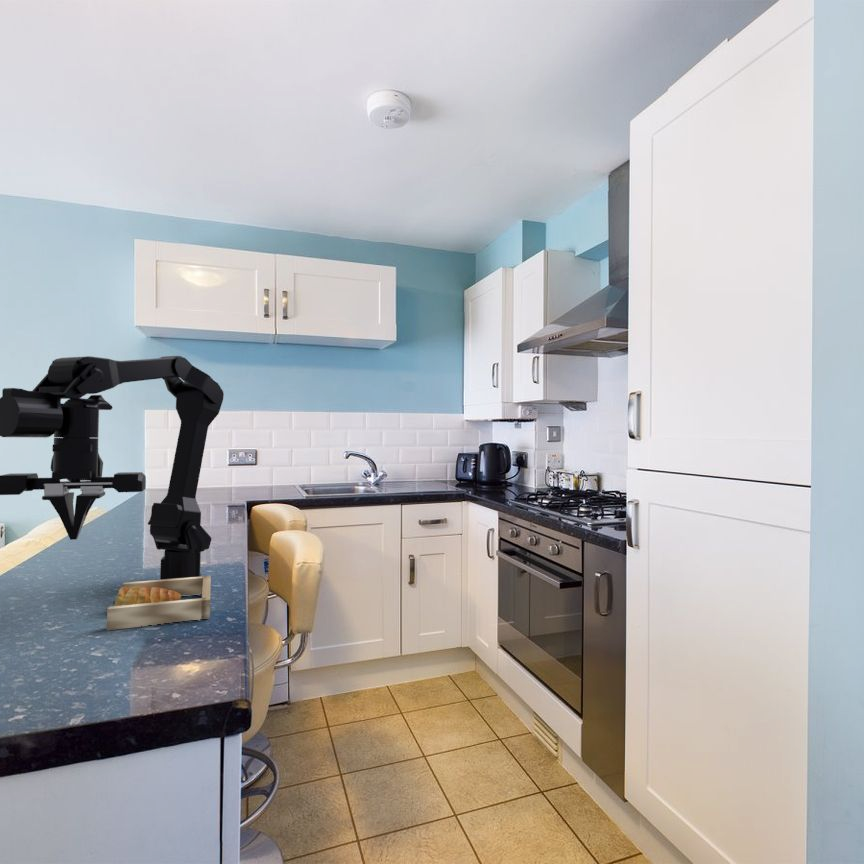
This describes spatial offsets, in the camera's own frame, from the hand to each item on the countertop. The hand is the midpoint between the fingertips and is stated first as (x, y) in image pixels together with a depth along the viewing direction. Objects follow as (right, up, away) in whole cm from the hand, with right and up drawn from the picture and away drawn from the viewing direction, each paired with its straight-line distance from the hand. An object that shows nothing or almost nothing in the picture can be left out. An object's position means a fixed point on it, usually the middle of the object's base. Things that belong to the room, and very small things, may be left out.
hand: (74, 539), depth 81 cm
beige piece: (+12, -12, +4) cm, 17 cm away
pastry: (+8, -13, +4) cm, 16 cm away
